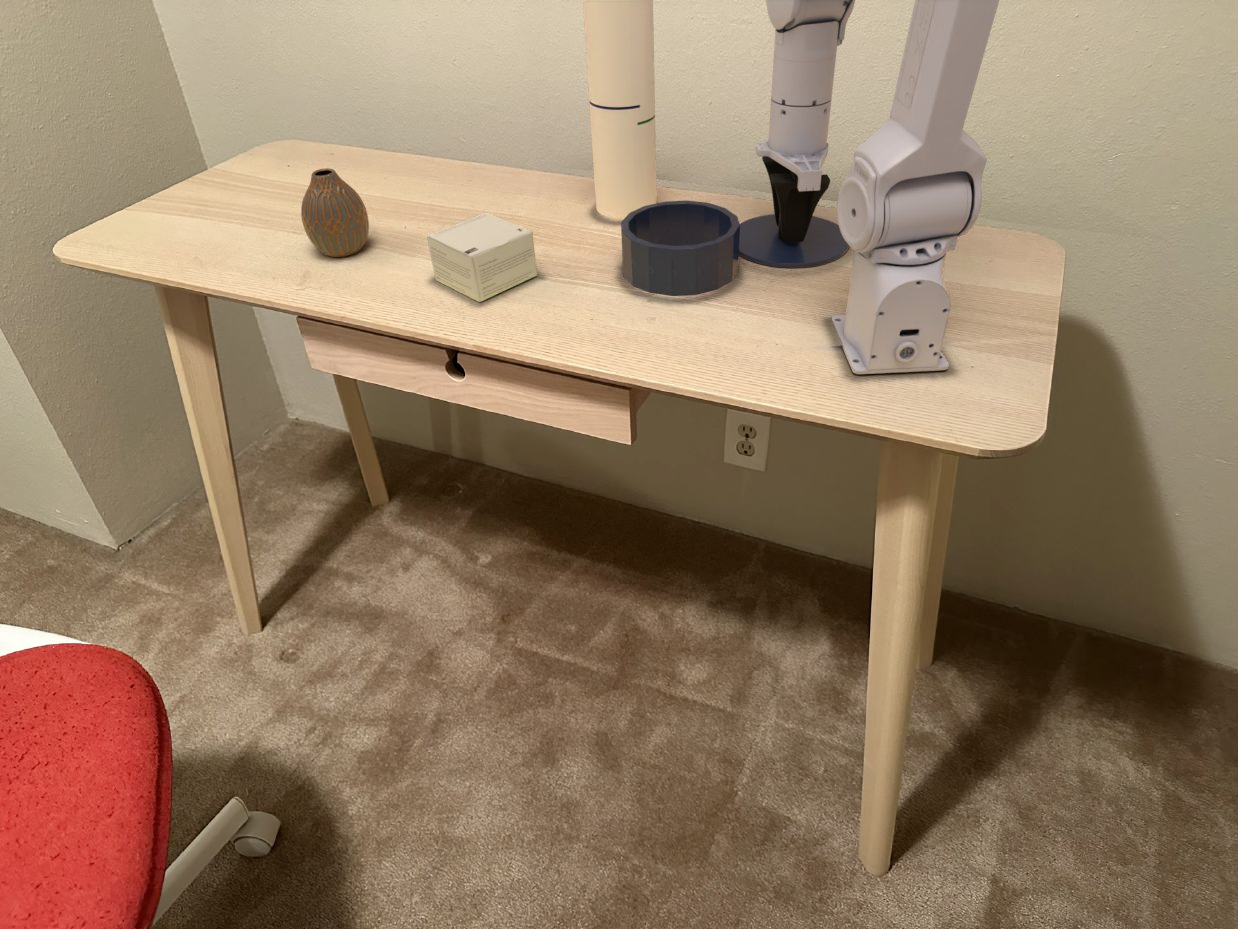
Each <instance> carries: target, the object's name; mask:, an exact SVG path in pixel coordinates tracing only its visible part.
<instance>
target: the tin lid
mask: <svg viewBox="0 0 1238 929" xmlns="http://www.w3.org/2000/svg"><path fill="white" fill-rule="evenodd" d="M739 224H740V239H739V257H741V258H743V259H745V260H747V261H749V262H752V263H754V264H757V265H758V264H759V265H763V266H767V267H771V268H772V267H774V268H781V269H803V268H805V269H806V268H812V267H818V266H823V265H827V264H829V263H832V262H835V261H836V260H839V259H840V258H842V257H843V256H845V254H847V252H848V251H849V249H850V246H849V245H848V243H847V242H846V241H845V240H844V238H843V236H842V234H841V231H840V228H839V225H838V223H835V222H834V221H831V220H829V219H827V218H822V217H818V216H812V218H811V221H810V224H809V228H808V231H807V233H806V236H805V238H804V241H803V242H787V243H785V242H784V241H783V238H782V234H781V225H780V215H779V226H777V224H776V220H775V214H774V213H772V214H765V215H760V216H756V217H752V218H749V219H746V220H744V221H742V222H739Z"/></svg>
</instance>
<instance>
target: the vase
mask: <svg viewBox="0 0 1238 929" xmlns="http://www.w3.org/2000/svg"><path fill="white" fill-rule="evenodd" d="M300 213H301V214H300V215H301V222H302V226H303V229H304V232H305V234H306V236H307V238H308V239H309V241H310V242H311V244H312V245H313V246H314V247H315V248H316V249H317V250H318V251H320V253H323V254H324V255H326V256H328V257H332V258H343V257H348V256H352V255H354V254H356V253H358V252H359V251H361V250H362V248H363V247H364V245H365V244H366V242H367V240H368V237H369V233H370V232H369V231H370V221H369V216H368V210H367V207H366V206H365V203H364V201H363V199H362V197H361V196H360V195H359V193H358V192H357V191H356V190H355V189H354V188H353V187H352V186H351V185H350V184H348V183H347V182H346V181H345V180H344V179H342V178H341V177H340V176H339V175H338V173H337V172H336V170H335V169H333V168H329V167H326V168H319V169H317V170H314V171H313V172H312V173H311V177H310V183H309V185H308V187H307V189H306V191H305V193H304V196H303V198H302V201H301V209H300Z"/></svg>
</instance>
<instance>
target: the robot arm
mask: <svg viewBox="0 0 1238 929" xmlns="http://www.w3.org/2000/svg"><path fill="white" fill-rule="evenodd" d="M999 2H1000V0H914V3H913V9H912V13H911V18H910V21H909V22H910V23H909V27H908V30H907V31H908V32H907V36H906V40H905V45H904V50H903V54H902V59H901V64H900V68H899V71H898V72H899V73H898V77H897V82H896V87H895V90H894V95H893V100H892V104H891V109H890V114H889V118H888V120H887V121H886V122H885V123H884V124H883V125H882V126H881V127H880V128H879V129H877V130H876V131H875V132H874V133H873V134H871V135H870V136H869V137H868V138H867V139H865V140H864V141H863V142H862V143H861V144H860V145H859V146H857V147H856V148H855V150H854V153H853V158H852V162H851V166H850V169H849V171H848V173H847V175H846V177H845V178H844V180H843V182H842V184H841V186H840V188H839V191H838V195H837V200H836V218H837V225H839V228H840V231H841V234H842V236H843V238H844V240H845V241H846V242H847V243H848V245H849V248H851V250H853V251H854V253H853V260H852V267H851V273H850V282H849V289H848V296H847V303H846V309H845V314H844V313H843V314H833V315H831V317H830V319H831V320H832V323H833V325H834V327H835V330H836V332H837V335H838V337H839V340H840V342H841V344H842V345H841V348H842V351H843V352H844V355H845V357H846V359H847V362H848V364H849V366H850V369H851V372H852V373H854V374H855V375H873V374H875V375H877V374H895V373H896V374H897V373H914V372H915V373H916V372H936V371H939V372H940V371H946V370H948V369H949V367H950V363H949V361H948V360H947V358H946V356H945V355H944V352H942V348H943V343H944V340H945V336H946V331H947V326H948V322H949V317H950V313H951V307H952V304H951V296H950V294H949V291H948V289H947V287H946V284H945V281H944V275H943V274H944V271H943V270H944V267H945V266H944V265H945V261H946V256H947V253H949V252H951V251H954V250H956V249H957V248H956V247H957V242H958V240H959V239H958V238H959V237H962V236H964V235H967V234H968V233H969V232H970V231H971V230H972V229H973V228H974V226H975V224H976V222H977V220H978V217H979V214H980V212H981V207H982V200H983V191H982V190H983V189H982V183H983V174H984V170H985V167H986V165H987V161H988V158H987V156H986V155H985V152H984V151H983V148H982V147H981V146H980V145H979V143H978V142H977V141H976V140H975V139H974V138H973V137H972V136H971V135H970V134H968V132H966V131H965V130H964V126H965V122H966V118H967V115H968V112H969V108H970V104H971V101H972V99H973V98H972V97H973V94H974V91H975V87H976V83H977V80H978V76H979V74H980V70H981V67H982V62H983V59H984V55H985V52H986V49H987V44H988V41H989V38H990V34H991V30H992V27H993V24H994V20H995V16H996V13H997V10H998V9H997V8H998V6H999ZM855 3H856V0H766V9H767V14H768V18H769V21H770V23H771V25H772V27H773V28H774V30H775V31H774V45H773V59H772V60H773V61H772V73H771V74H772V76H771V91H770V93H771V94H770V109H769V124H768V139H767V142H759V143H756V145H755V153H756V155H757V157H761V160H762V162H763V165H764V167H765V169H766V172H767V176H768V179H769V184H770V189H771V194H772V195H771V196H772V204H773V214H775V220H776V224H777V226H779V215H780V225H781V234H782V238H783V241H784V242H785V243H787V242H803V241H804V238H805V236H806V233H807V231H808V228H809V224H810V221H811V218H812V216H813V215H814V212H815V211H816V208H817V206H818V204H819V203H820V200H821V198H822V197H823V196H824V194H825V193H826V192H827V190H828V189H829V187H830V184H831V178H830V177H829V175H828V174H827V173H826V174H823V169H822V168H823V165H824V163H825V162H826V158H827V157H828V154H829V146H830V145H829V143H828V136H829V126H830V117H831V107H832V99H833V98H832V97H833V88H834V81H835V80H834V78H835V71H836V63H837V62H836V61H837V52H838V47H840V46H841V45H842V44H843V41H845V35H846V27H847V23H848V21H849V19H850V17H851V15H852V13H853V10H854V7H855ZM837 320H839V321H837Z"/></svg>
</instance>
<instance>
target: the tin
mask: <svg viewBox="0 0 1238 929" xmlns="http://www.w3.org/2000/svg"><path fill="white" fill-rule="evenodd" d="M620 231H621V232H620V233H621V256H622V257H621V258H622V276H623V278H624V279H625V281H627V282H628V283H629V284H630V285H631V286H632V287H634V288H636V289H639V290H641V291H644V292H646V293H649V294H653V295H654V294H655V295H660V296H661V295H662V296H668V297H685V296H698V295H703V294H705V293H710V292H715V291H718V290H719V289H721V288H723V287H724V286H727V285H728V284H729V283H732V282H733V280H734V278H735V277H736V275H737V274H738V272H739V261H740V260H739V259H740V256H739V239H740V220H739V218H738V215H736V214H734V213H733V212H732V211H731V210H729V209H728V208H725V207H724V206H720V205H718V204H713V203H711V202H707V201H696V200H669V201H668V200H667V201H660V202H657V203H656V204H651V205H647V206H643V207H641V208H639V209H637V210H635V211H633V212H630V213H629V214H628V215H627V216H626V217H625V218H622V220H621V222H620Z"/></svg>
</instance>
